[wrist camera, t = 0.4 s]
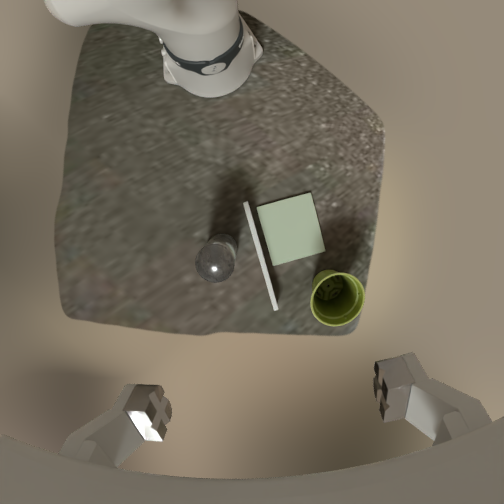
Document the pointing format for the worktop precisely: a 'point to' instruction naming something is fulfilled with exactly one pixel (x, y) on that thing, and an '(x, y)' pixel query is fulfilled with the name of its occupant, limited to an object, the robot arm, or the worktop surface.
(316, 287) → the plant pot
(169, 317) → the worktop surface
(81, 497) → the robot arm
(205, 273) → the canister
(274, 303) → the wall
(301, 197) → the pad
